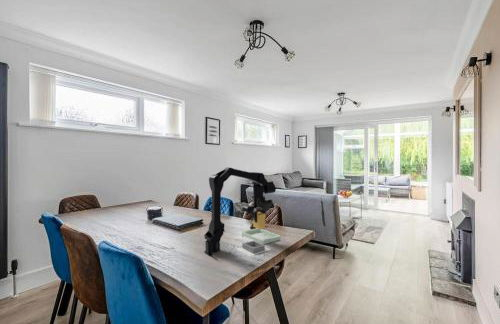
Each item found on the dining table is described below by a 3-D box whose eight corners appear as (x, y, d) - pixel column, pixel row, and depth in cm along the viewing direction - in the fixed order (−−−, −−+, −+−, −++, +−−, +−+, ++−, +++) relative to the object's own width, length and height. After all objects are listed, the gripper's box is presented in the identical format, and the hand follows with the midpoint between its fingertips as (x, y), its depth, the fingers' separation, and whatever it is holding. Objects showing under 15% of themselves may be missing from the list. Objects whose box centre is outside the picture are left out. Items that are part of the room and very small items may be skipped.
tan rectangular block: (259, 229, 139) (259, 214, 139) (253, 226, 144) (252, 212, 144) (265, 227, 141) (264, 213, 141) (258, 225, 146) (258, 211, 146)
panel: (249, 258, 121) (249, 250, 121) (235, 250, 131) (235, 244, 131) (271, 251, 130) (271, 244, 129) (257, 244, 139) (257, 238, 139)
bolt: (250, 233, 166) (260, 227, 179) (256, 230, 164) (266, 224, 177) (246, 225, 167) (256, 219, 180) (252, 222, 165) (262, 216, 178)
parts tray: (262, 246, 137) (262, 240, 137) (241, 236, 154) (241, 231, 154) (280, 241, 145) (280, 235, 145) (259, 232, 162) (259, 227, 162)
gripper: (253, 198, 130) (253, 228, 131) (280, 194, 141) (280, 222, 141) (241, 195, 139) (242, 223, 140) (267, 192, 150) (268, 218, 150)
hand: (259, 222), depth 143 cm, fingers closed on tan rectangular block, 4 cm apart
